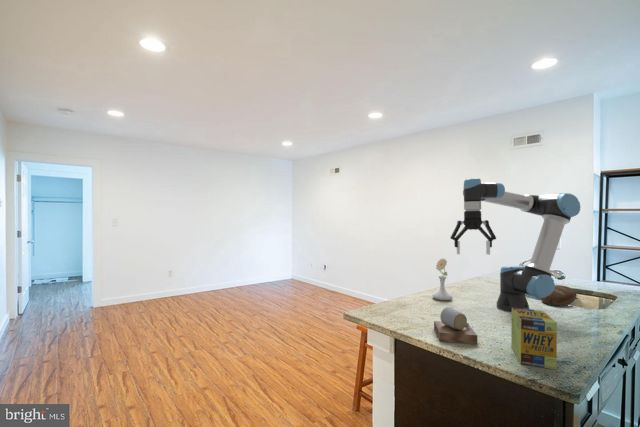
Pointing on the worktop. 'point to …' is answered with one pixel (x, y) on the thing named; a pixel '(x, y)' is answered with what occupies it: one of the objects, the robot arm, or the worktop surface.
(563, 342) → the worktop surface
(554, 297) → the bread
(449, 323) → the ceramic mug
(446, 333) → the walnut stand
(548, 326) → the protein box
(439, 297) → the flower in vase
